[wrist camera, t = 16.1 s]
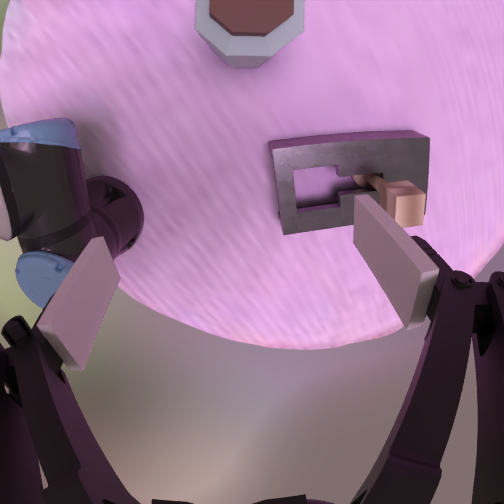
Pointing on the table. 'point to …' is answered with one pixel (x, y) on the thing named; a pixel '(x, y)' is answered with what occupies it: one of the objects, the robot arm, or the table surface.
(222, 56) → the water bottle
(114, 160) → the table surface
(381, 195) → the peg
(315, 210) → the keyhole plate
